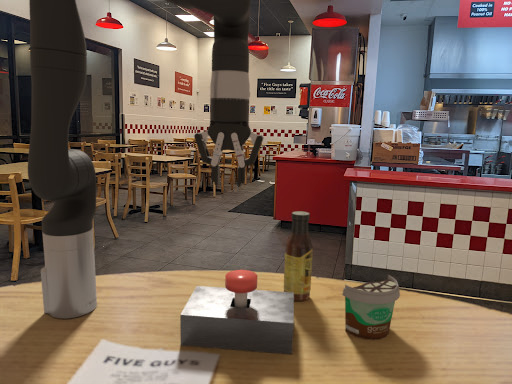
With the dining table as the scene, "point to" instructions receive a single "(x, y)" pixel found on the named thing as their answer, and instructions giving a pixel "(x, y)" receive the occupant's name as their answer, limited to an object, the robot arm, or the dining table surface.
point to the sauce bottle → (298, 258)
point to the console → (238, 320)
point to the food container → (370, 308)
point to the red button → (241, 285)
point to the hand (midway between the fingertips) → (228, 184)
